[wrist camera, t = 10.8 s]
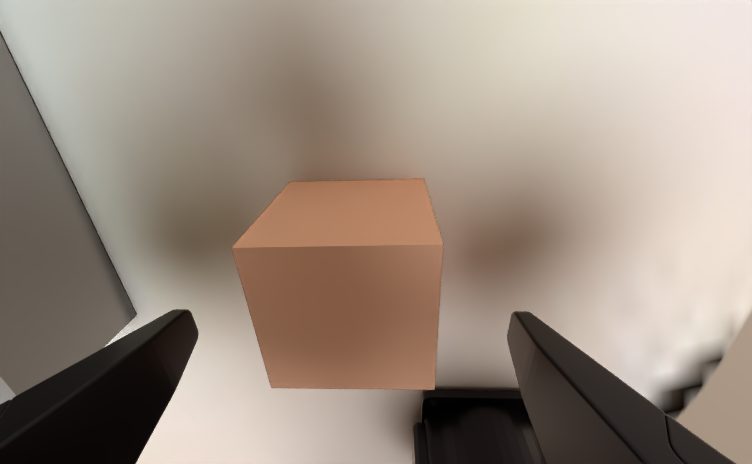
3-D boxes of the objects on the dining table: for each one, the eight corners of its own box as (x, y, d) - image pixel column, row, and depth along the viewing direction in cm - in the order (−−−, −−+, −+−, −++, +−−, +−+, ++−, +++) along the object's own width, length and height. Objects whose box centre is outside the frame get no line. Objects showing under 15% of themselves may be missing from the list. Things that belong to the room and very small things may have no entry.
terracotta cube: (423, 177, 12) (443, 244, 7) (420, 287, 14) (434, 389, 10) (290, 181, 12) (231, 247, 8) (308, 288, 14) (271, 387, 10)
